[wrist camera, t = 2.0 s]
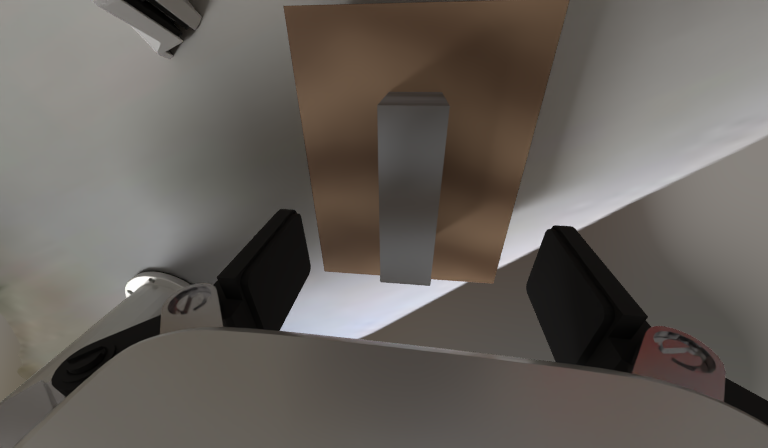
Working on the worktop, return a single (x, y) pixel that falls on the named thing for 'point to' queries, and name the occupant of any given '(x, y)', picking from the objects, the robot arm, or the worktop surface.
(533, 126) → the lid
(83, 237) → the worktop surface
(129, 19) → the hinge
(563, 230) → the robot arm
